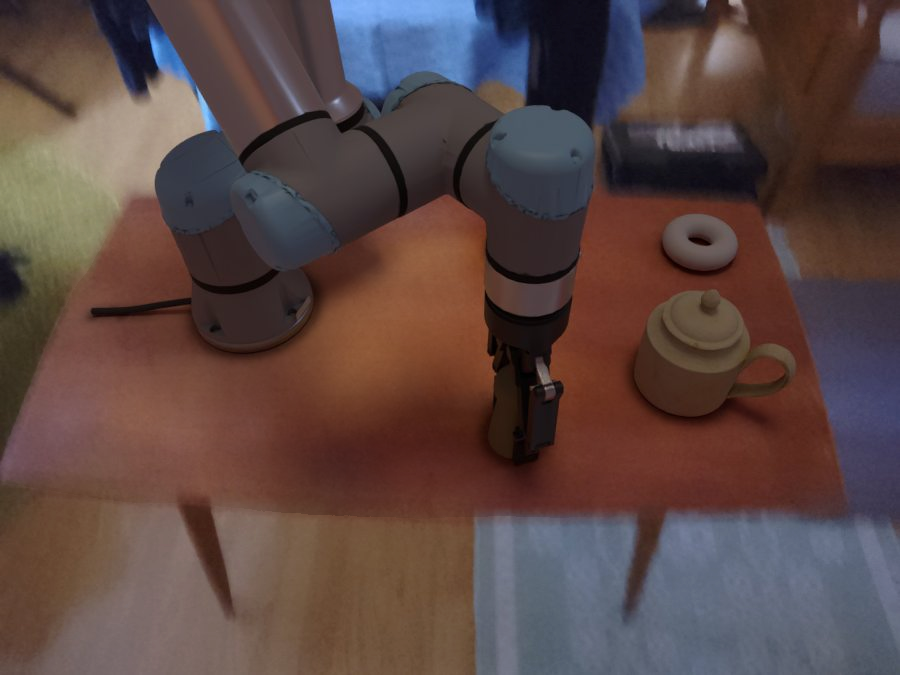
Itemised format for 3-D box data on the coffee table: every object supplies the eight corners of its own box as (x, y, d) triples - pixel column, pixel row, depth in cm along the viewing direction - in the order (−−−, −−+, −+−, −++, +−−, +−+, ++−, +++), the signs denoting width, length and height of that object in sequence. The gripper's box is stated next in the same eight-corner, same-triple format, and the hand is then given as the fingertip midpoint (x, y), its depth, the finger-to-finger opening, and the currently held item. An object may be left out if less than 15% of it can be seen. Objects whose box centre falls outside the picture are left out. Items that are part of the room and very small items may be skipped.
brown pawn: (508, 468, 73) (513, 411, 65) (476, 428, 77) (477, 369, 68) (552, 442, 75) (563, 383, 67) (520, 404, 79) (526, 343, 70)
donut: (666, 277, 91) (742, 276, 91) (672, 258, 89) (750, 257, 88) (653, 227, 98) (724, 226, 97) (658, 208, 95) (731, 207, 95)
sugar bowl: (756, 350, 83) (802, 260, 71) (769, 427, 76) (823, 341, 64) (631, 338, 84) (657, 248, 73) (633, 412, 78) (662, 325, 66)
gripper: (617, 362, 53) (579, 500, 70) (531, 210, 64) (518, 361, 82) (525, 385, 51) (510, 519, 69) (455, 226, 63) (458, 376, 81)
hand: (514, 433), depth 76 cm, fingers closed on brown pawn, 6 cm apart
